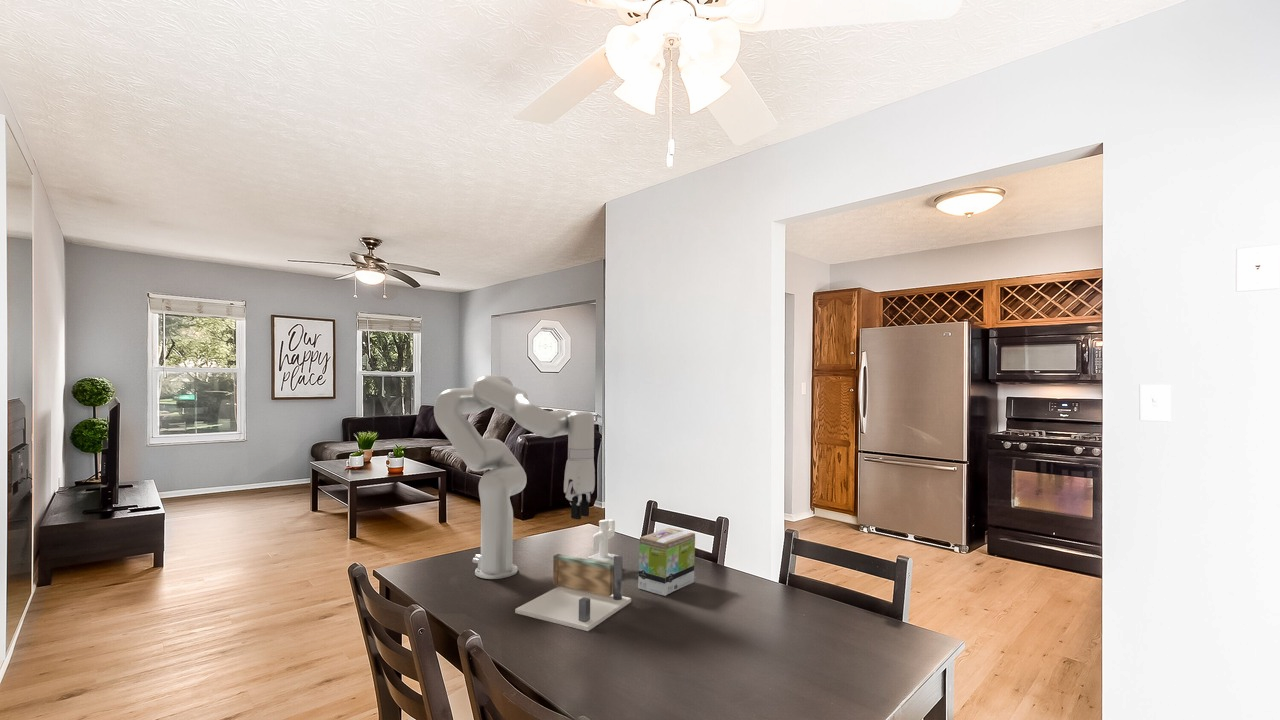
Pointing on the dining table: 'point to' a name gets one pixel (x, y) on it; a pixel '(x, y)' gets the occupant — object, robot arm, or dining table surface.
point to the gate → (583, 574)
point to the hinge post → (617, 590)
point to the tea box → (666, 561)
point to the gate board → (571, 607)
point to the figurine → (603, 542)
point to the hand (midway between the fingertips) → (580, 516)
